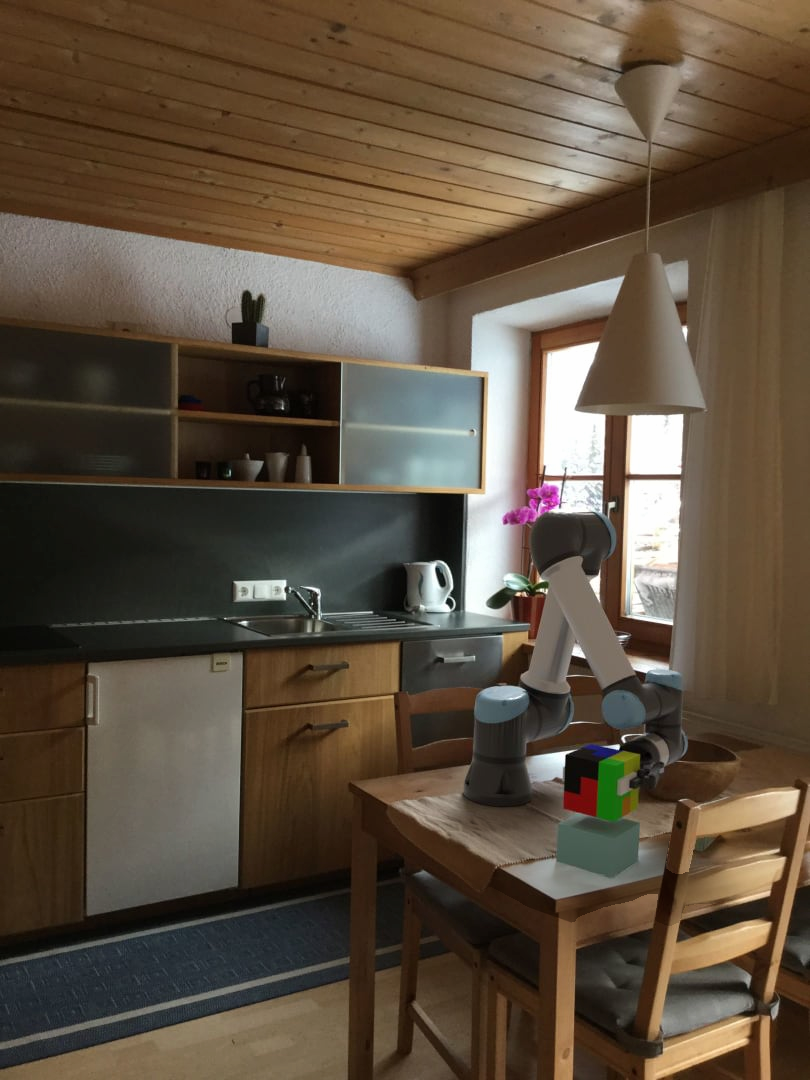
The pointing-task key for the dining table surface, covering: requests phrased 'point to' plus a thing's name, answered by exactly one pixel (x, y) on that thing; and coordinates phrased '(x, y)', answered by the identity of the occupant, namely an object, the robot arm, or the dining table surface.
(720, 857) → the dining table surface
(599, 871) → the base brick
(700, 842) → the medication box
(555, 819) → the dining table surface
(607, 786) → the puzzle toy
